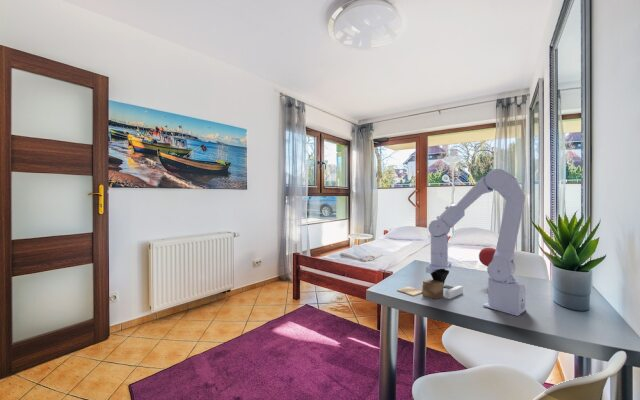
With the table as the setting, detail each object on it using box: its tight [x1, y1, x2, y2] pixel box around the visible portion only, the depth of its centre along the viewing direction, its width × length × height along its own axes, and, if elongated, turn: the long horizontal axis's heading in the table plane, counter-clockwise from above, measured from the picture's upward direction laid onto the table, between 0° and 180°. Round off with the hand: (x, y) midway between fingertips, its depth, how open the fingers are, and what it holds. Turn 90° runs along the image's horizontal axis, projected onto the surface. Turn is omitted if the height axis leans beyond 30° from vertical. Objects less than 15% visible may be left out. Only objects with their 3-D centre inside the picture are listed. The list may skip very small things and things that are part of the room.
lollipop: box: [478, 247, 496, 267], centre depth 110 cm, size 8×8×15 cm
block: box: [422, 278, 444, 300], centre depth 96 cm, size 5×5×5 cm
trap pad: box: [443, 284, 455, 290], centre depth 104 cm, size 6×3×1 cm, turn 38°
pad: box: [396, 286, 423, 297], centre depth 100 cm, size 7×7×1 cm
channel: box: [421, 283, 464, 300], centre depth 100 cm, size 10×10×2 cm
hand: (438, 289), depth 99 cm, fingers closed
